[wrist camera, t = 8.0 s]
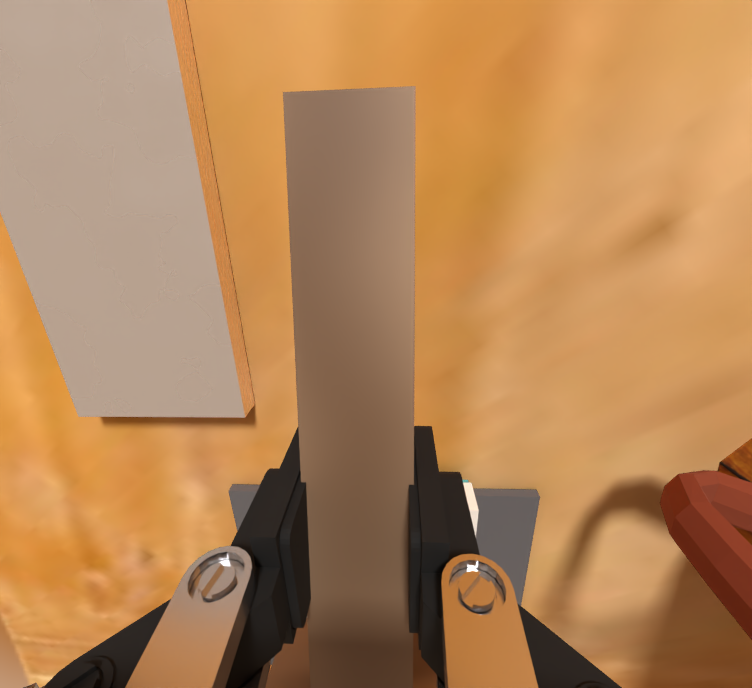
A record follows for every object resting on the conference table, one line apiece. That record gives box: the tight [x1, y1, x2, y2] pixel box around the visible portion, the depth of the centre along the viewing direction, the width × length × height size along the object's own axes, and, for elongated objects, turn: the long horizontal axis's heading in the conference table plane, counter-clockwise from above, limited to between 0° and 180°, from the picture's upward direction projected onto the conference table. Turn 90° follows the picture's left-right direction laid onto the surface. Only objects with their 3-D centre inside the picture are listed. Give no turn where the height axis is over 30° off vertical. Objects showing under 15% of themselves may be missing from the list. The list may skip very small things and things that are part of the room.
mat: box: [229, 484, 540, 665], centre depth 21 cm, size 16×15×1 cm
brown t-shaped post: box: [265, 86, 436, 688], centre depth 10 cm, size 6×17×4 cm, turn 1°
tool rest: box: [0, 0, 255, 418], centre depth 14 cm, size 8×20×1 cm, turn 2°
